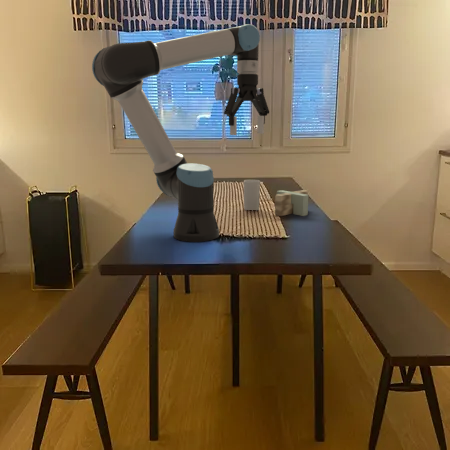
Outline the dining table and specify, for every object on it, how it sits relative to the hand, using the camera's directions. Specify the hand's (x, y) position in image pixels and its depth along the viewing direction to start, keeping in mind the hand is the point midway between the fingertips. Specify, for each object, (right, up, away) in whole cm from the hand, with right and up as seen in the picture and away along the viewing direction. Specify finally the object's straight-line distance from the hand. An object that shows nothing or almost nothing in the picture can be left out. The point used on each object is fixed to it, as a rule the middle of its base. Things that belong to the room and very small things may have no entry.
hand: (247, 134), depth 171 cm
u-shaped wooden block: (+19, -28, +17) cm, 38 cm away
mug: (+3, -27, +24) cm, 36 cm away
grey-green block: (+19, -28, +16) cm, 38 cm away
